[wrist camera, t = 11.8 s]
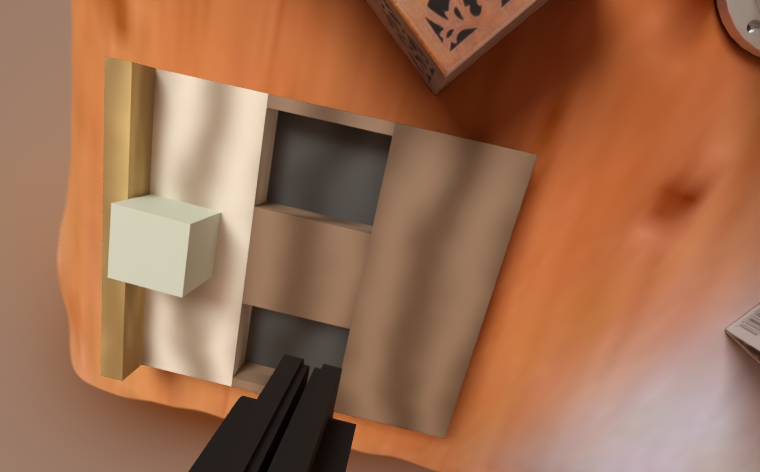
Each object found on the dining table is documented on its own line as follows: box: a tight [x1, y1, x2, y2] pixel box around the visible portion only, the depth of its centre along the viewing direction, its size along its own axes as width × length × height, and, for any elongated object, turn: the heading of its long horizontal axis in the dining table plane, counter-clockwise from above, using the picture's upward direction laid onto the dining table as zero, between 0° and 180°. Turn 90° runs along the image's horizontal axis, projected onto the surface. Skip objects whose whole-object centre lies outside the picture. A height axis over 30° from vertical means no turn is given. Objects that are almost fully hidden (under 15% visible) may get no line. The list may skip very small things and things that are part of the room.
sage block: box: [107, 194, 221, 297], centre depth 30 cm, size 6×6×4 cm
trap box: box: [101, 56, 537, 439], centre depth 32 cm, size 32×27×6 cm
